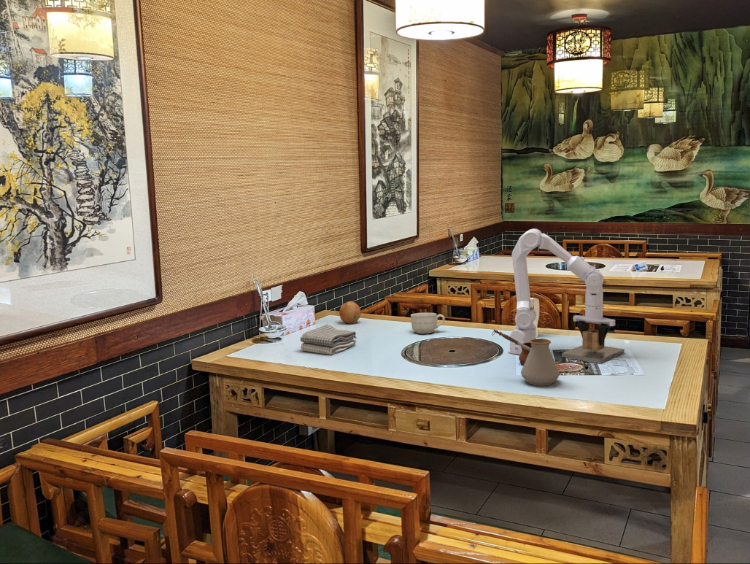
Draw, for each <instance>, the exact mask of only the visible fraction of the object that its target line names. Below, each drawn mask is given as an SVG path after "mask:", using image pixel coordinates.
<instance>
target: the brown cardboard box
mask: <svg viewBox="0 0 750 564" xmlns="http://www.w3.org/2000/svg"><path fill="white" fill-rule="evenodd" d="M605 341H606V340H605ZM605 341H604V343H605ZM581 343H582V345H581V346H582V349H588V350H594V351H598V350H601V349H603V348H604V346H605V344H604V345H601V346H600V345H599V333H598V329H591V328H589V330H586V331H583V339H582V342H581Z"/></svg>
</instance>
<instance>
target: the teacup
mask: <svg viewBox="0 0 750 564" xmlns="http://www.w3.org/2000/svg"><path fill="white" fill-rule="evenodd" d="M440 317H441V319H442V320H441V322H439V323H437V321H438V319H439V318H440ZM445 320H446V317H445V316H444V315H443V314H440V313H439V314H437V313H434V312H417V313H412V314H410V321H411V323H410V324H411V329H412V330H413V331H414V332H415V333H416V334H422V335H424V334H425V335H426V334H433V332H434V331H435V330H437V329H438V328H439V327H440V326H441V325H443V324H444V322H445Z"/></svg>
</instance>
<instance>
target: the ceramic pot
mask: <svg viewBox="0 0 750 564" xmlns="http://www.w3.org/2000/svg"><path fill="white" fill-rule="evenodd" d="M522 344H524V345H526V346H528V347H530V348H532V346H531V343H530V342H527V343H522ZM521 348H522V352H521V354H520V355H519V354H518V355H519V356H518V361H519V363H520V365H521V366H524V363H525V361H526V359H527V357H528V354H529V352H530V351H529V350H527V349H525V348H523V347H522V346H521ZM554 361H555V360H554ZM555 363H556V366H557V367H559V366H560V363H559V362H558V361H555Z"/></svg>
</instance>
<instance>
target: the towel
mask: <svg viewBox="0 0 750 564" xmlns="http://www.w3.org/2000/svg"><path fill="white" fill-rule="evenodd" d="M356 335H357V332H356V331H354V330H347V329H346V330H343V329H337V328H335V327H334V326H332V325H329V324H324V325H322V326H320V327H316V328H314V329H311V330H309V331H305V332H303V333H302V335H301V337H300V342H302V343H301V345H300V349H301V351H304V352H308V353H315V354H316V353H317V354H323V355H330V356H333V355H336V354H338V353H341V352H343V351H344V350H347V349H349V348H352V347H355V346H356V341H357V336H356Z"/></svg>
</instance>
